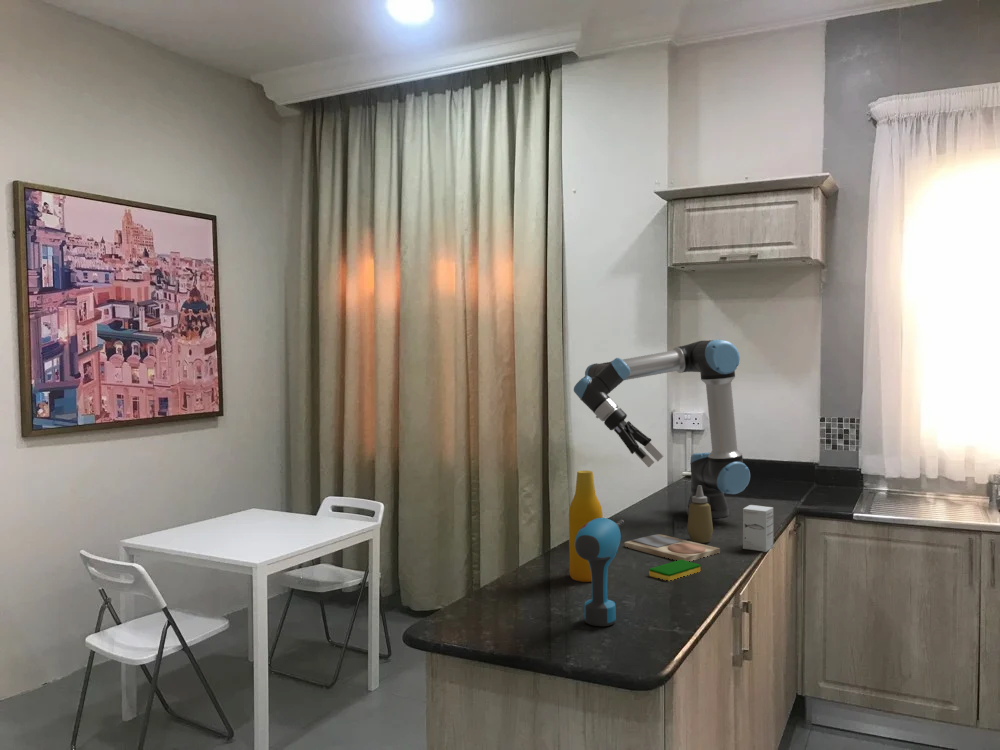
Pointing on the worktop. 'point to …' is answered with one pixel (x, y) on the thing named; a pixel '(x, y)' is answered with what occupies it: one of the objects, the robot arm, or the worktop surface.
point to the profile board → (672, 547)
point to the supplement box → (758, 528)
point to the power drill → (599, 566)
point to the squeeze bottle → (700, 518)
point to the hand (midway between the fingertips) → (656, 461)
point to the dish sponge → (674, 570)
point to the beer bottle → (582, 522)
